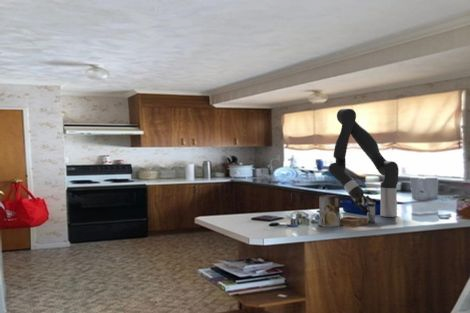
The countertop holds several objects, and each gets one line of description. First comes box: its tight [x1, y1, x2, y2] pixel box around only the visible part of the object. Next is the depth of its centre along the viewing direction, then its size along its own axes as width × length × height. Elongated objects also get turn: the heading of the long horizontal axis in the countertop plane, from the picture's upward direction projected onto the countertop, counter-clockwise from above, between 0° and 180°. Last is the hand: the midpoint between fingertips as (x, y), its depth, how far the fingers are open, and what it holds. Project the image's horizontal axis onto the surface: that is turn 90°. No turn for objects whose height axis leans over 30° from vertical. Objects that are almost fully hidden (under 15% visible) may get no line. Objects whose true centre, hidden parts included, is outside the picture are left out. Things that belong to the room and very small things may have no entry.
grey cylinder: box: [365, 202, 377, 224], centre depth 255 cm, size 5×5×11 cm
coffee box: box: [318, 194, 341, 228], centre depth 245 cm, size 9×6×16 cm
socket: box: [340, 215, 369, 228], centre depth 251 cm, size 14×14×3 cm
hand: (371, 211), depth 255 cm, fingers open, 8 cm apart
